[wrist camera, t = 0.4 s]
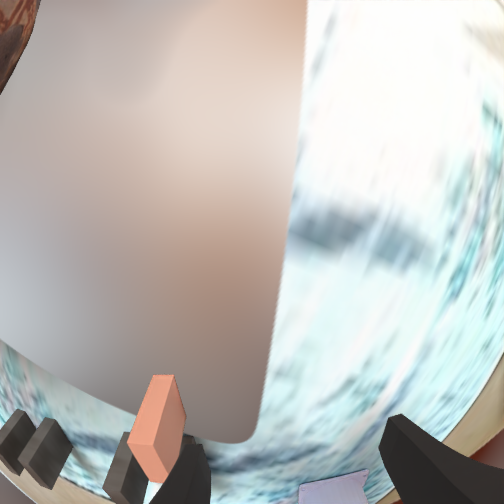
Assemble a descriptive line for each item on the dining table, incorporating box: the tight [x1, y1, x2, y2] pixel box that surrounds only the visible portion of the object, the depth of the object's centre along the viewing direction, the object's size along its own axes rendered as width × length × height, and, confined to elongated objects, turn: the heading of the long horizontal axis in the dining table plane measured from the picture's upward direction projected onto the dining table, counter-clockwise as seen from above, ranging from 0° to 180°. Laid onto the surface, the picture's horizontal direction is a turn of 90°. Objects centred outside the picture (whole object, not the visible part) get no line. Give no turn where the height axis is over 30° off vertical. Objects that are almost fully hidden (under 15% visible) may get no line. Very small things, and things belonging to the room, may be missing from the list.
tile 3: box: [18, 417, 73, 490], centre depth 17 cm, size 4×2×7 cm, turn 5°
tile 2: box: [102, 432, 149, 504], centre depth 17 cm, size 4×2×7 cm, turn 5°
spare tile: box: [127, 375, 186, 483], centre depth 16 cm, size 4×2×7 cm, turn 5°
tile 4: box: [0, 409, 37, 476], centre depth 17 cm, size 4×2×7 cm, turn 5°
